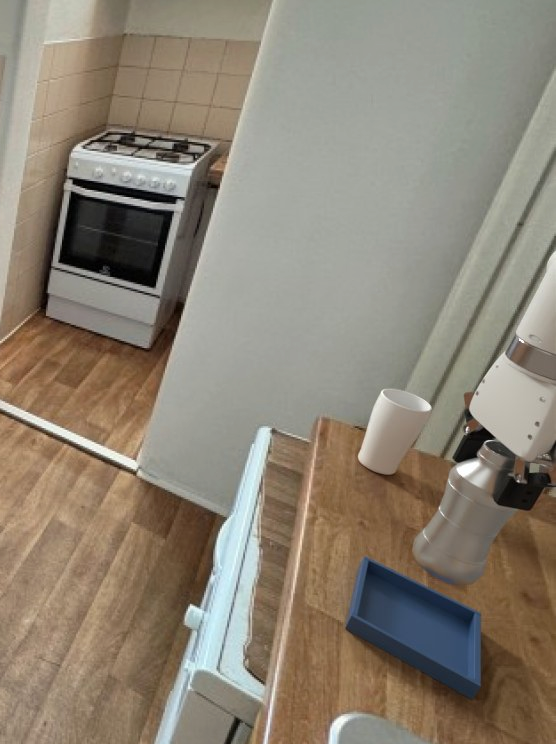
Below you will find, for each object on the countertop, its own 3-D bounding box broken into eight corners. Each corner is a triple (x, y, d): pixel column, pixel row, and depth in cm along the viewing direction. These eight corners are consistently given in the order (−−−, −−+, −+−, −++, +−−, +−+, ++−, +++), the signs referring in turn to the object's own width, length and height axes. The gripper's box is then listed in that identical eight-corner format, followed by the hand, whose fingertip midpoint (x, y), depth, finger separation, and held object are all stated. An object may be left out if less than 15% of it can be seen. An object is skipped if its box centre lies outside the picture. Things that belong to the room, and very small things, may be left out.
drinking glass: (342, 452, 114) (370, 387, 109) (378, 453, 114) (408, 388, 109) (372, 478, 108) (403, 411, 103) (410, 480, 108) (444, 412, 102)
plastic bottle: (480, 576, 78) (551, 455, 71) (468, 603, 75) (541, 478, 67) (414, 541, 83) (474, 424, 76) (399, 565, 80) (461, 445, 72)
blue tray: (358, 567, 91) (364, 555, 90) (473, 625, 83) (481, 612, 82) (344, 628, 82) (351, 615, 81) (472, 700, 74) (480, 686, 73)
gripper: (681, 415, 58) (590, 550, 65) (538, 327, 74) (476, 443, 80) (581, 400, 60) (503, 532, 67) (462, 318, 76) (408, 432, 82)
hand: (489, 483), depth 73 cm, fingers closed on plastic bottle, 6 cm apart
